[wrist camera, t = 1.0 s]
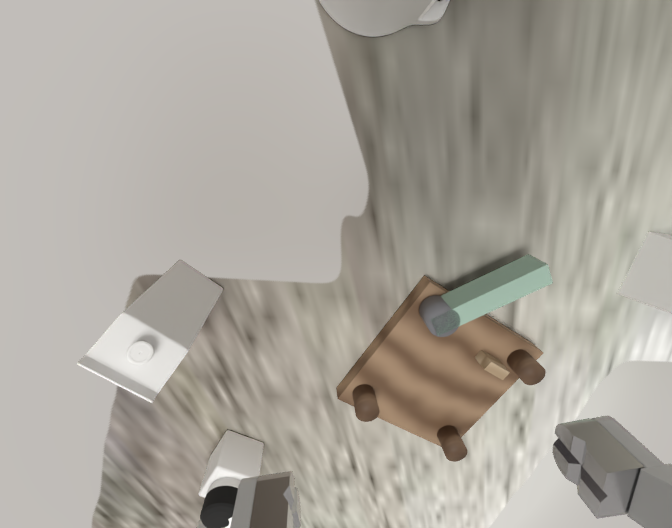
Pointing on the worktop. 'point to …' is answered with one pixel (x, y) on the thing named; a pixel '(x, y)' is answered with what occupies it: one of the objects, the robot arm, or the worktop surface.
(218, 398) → the worktop surface
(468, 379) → the stool seat
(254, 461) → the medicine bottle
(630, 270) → the grey tiered tower
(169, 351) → the milk carton
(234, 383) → the worktop surface
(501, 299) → the hinged leg
